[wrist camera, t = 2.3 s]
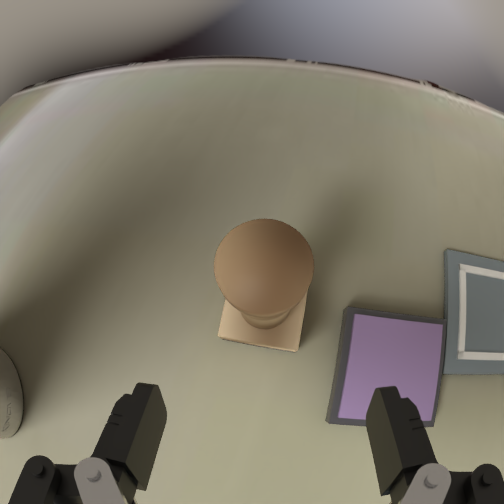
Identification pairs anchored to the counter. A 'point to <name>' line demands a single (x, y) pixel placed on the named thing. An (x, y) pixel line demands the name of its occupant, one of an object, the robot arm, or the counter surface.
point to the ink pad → (386, 363)
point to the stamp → (263, 284)
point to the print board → (473, 314)
